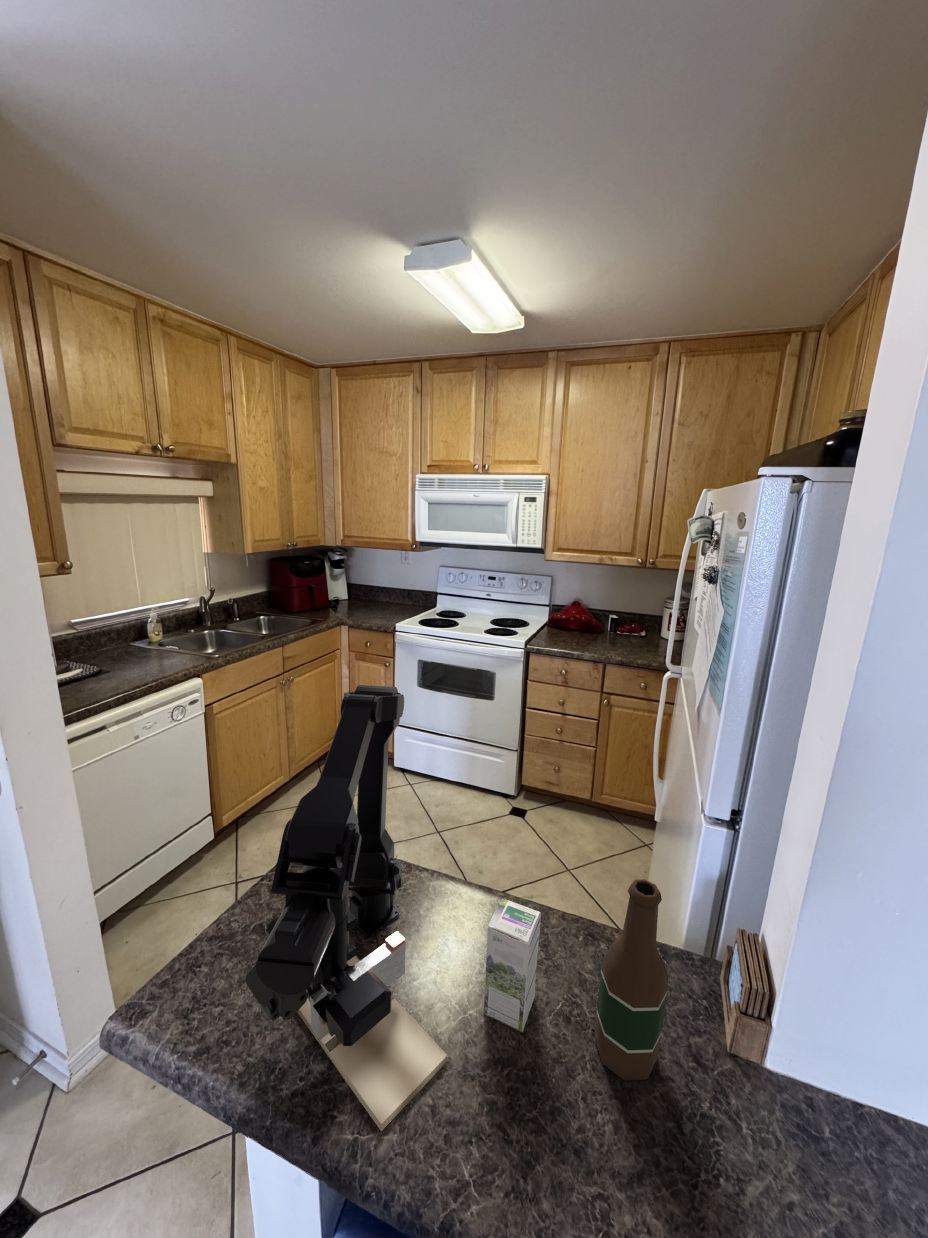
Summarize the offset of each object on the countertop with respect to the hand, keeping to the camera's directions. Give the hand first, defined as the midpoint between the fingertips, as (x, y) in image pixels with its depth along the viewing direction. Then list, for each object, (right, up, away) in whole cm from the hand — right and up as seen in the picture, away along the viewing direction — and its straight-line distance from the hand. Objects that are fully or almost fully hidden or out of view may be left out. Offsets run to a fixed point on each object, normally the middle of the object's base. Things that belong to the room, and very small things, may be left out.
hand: (326, 1022), depth 60 cm
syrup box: (+23, -5, +8) cm, 25 cm away
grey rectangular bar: (+3, -1, +4) cm, 5 cm away
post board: (+3, -4, +4) cm, 7 cm away
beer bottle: (+37, -6, +3) cm, 38 cm away
